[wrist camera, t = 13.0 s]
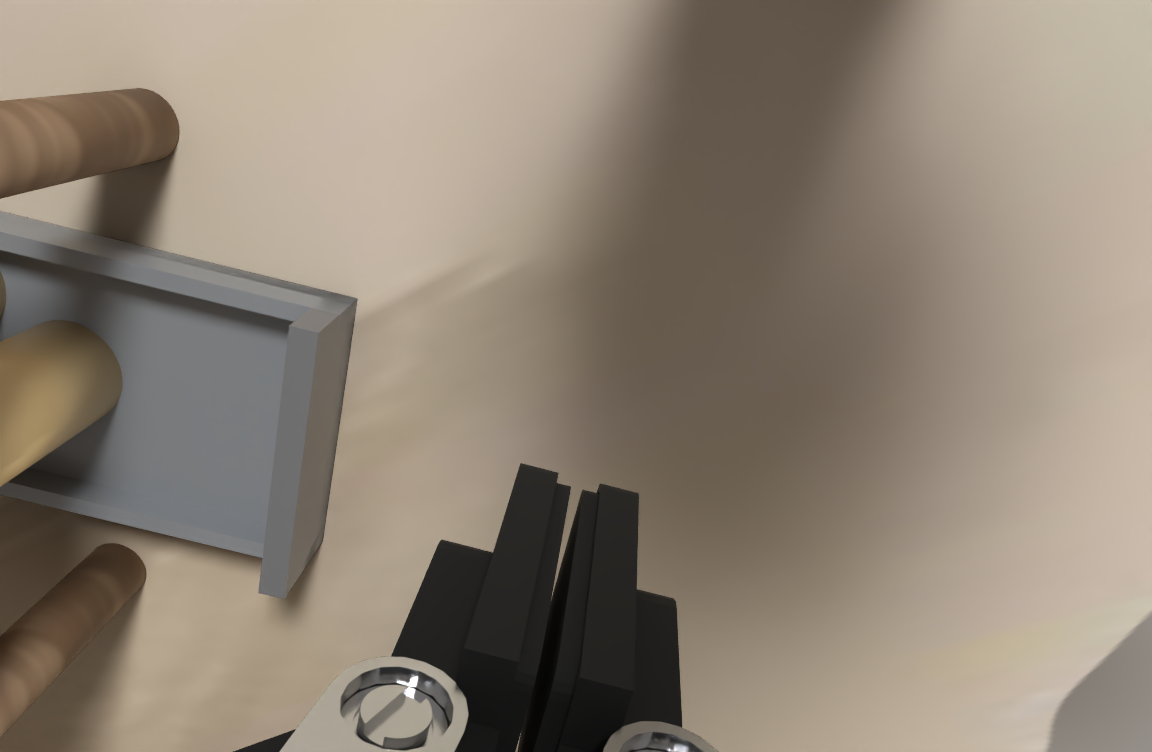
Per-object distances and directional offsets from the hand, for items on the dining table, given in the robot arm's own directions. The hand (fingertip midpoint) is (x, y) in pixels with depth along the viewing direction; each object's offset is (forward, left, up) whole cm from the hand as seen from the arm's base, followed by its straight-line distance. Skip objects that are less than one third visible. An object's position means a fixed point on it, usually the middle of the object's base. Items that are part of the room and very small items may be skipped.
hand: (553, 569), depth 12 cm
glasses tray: (+21, +13, -27) cm, 37 cm away
